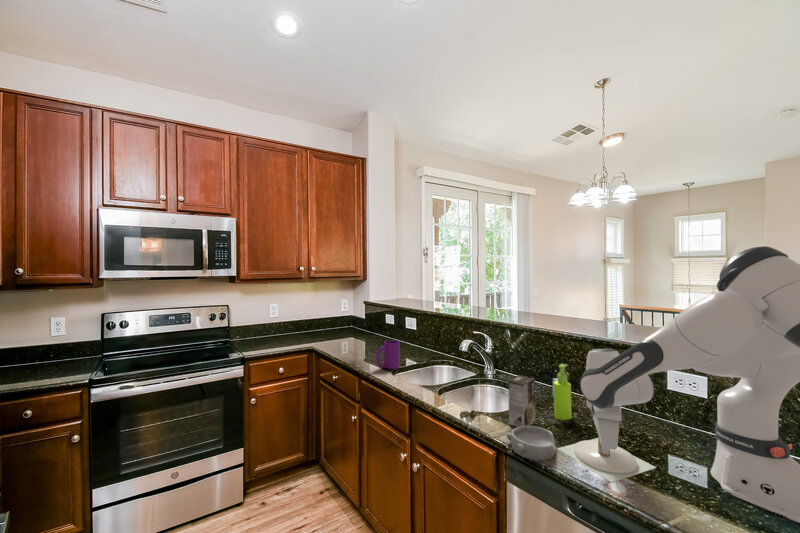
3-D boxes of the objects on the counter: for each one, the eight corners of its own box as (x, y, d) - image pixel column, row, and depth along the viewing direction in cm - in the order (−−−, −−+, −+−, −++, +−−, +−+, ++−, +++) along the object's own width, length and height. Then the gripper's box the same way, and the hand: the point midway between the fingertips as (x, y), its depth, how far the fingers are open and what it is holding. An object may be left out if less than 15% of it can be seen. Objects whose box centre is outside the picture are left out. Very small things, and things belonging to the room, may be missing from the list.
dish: (549, 440, 110) (549, 425, 110) (564, 465, 96) (564, 448, 96) (504, 438, 112) (504, 423, 112) (512, 461, 98) (512, 444, 98)
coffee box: (519, 416, 128) (519, 374, 128) (536, 421, 124) (535, 378, 124) (508, 424, 122) (507, 380, 122) (525, 430, 117) (524, 384, 117)
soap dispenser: (574, 416, 128) (573, 364, 128) (568, 422, 123) (568, 368, 123) (558, 412, 132) (557, 361, 132) (552, 417, 127) (551, 365, 127)
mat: (656, 469, 94) (656, 467, 94) (611, 484, 87) (611, 482, 87) (598, 439, 110) (598, 437, 110) (557, 450, 104) (556, 448, 104)
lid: (650, 466, 94) (650, 448, 94) (611, 479, 88) (610, 460, 88) (598, 439, 109) (598, 424, 109) (561, 449, 103) (561, 433, 103)
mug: (403, 367, 194) (402, 341, 194) (381, 372, 184) (381, 345, 184) (393, 364, 201) (393, 339, 201) (372, 369, 191) (372, 343, 191)
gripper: (587, 389, 110) (588, 431, 110) (595, 414, 91) (596, 464, 91) (609, 392, 107) (610, 435, 107) (622, 418, 88) (623, 470, 88)
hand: (604, 449), depth 99 cm, fingers closed on lid, 3 cm apart
